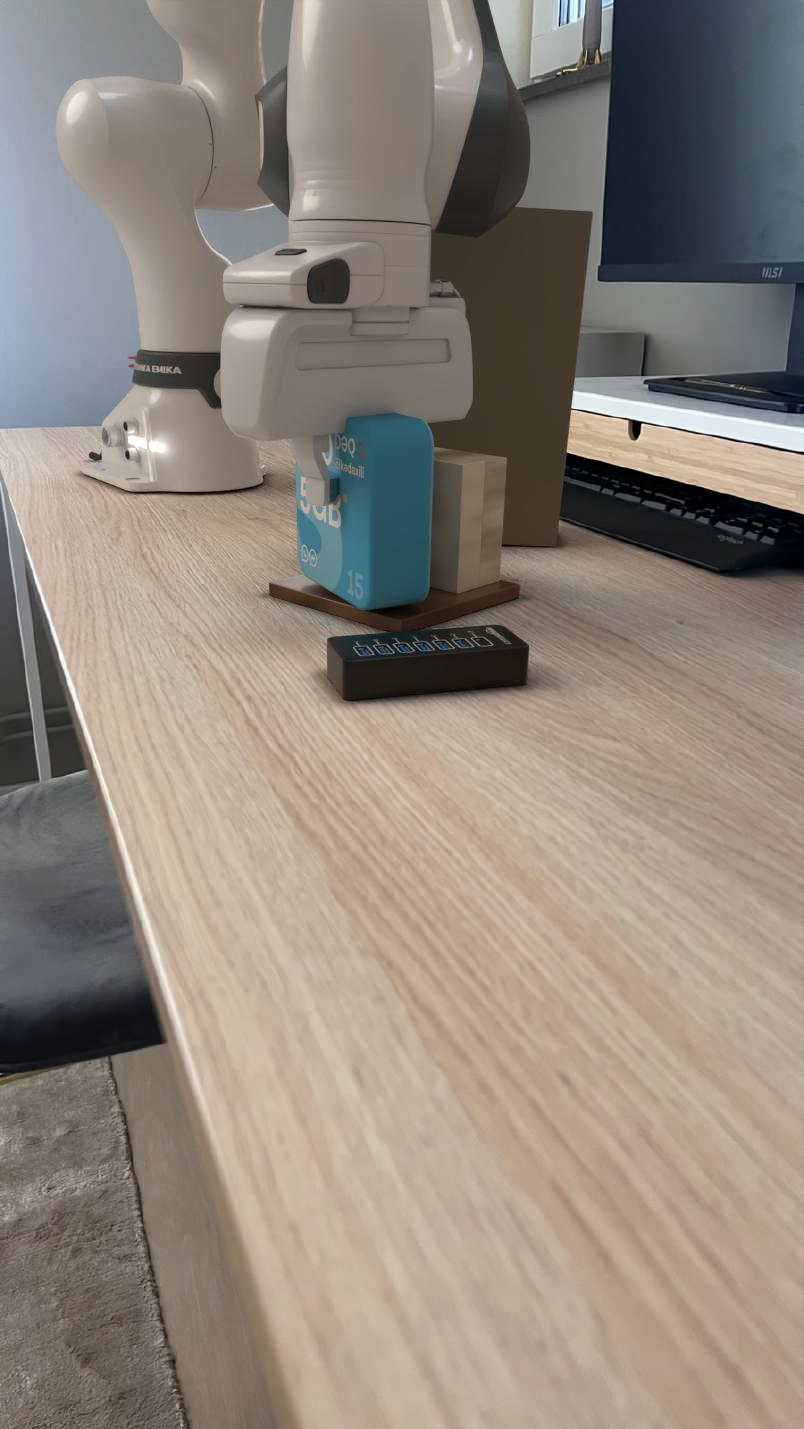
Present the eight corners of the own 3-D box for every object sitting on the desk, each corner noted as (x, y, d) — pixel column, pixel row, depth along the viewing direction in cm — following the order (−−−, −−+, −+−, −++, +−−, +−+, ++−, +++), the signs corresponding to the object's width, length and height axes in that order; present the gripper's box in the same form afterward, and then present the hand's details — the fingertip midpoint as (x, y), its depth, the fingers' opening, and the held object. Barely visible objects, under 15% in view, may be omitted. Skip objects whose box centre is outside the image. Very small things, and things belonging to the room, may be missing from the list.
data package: (296, 572, 76) (293, 403, 71) (351, 566, 78) (352, 401, 73) (369, 616, 66) (371, 424, 62) (430, 608, 68) (436, 421, 64)
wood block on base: (268, 595, 75) (265, 455, 71) (389, 565, 84) (392, 439, 80) (401, 635, 67) (405, 479, 63) (519, 597, 76) (529, 459, 72)
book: (542, 530, 100) (576, 211, 90) (563, 553, 92) (603, 203, 81) (321, 522, 99) (328, 196, 88) (321, 545, 90) (329, 185, 79)
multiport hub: (325, 673, 60) (325, 635, 59) (500, 659, 63) (502, 622, 62) (344, 701, 56) (344, 661, 55) (529, 684, 59) (532, 645, 58)
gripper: (429, 279, 74) (423, 475, 79) (199, 271, 60) (210, 510, 65) (500, 280, 70) (488, 486, 75) (271, 272, 56) (277, 526, 61)
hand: (358, 498), depth 70 cm, fingers closed on data package, 5 cm apart
